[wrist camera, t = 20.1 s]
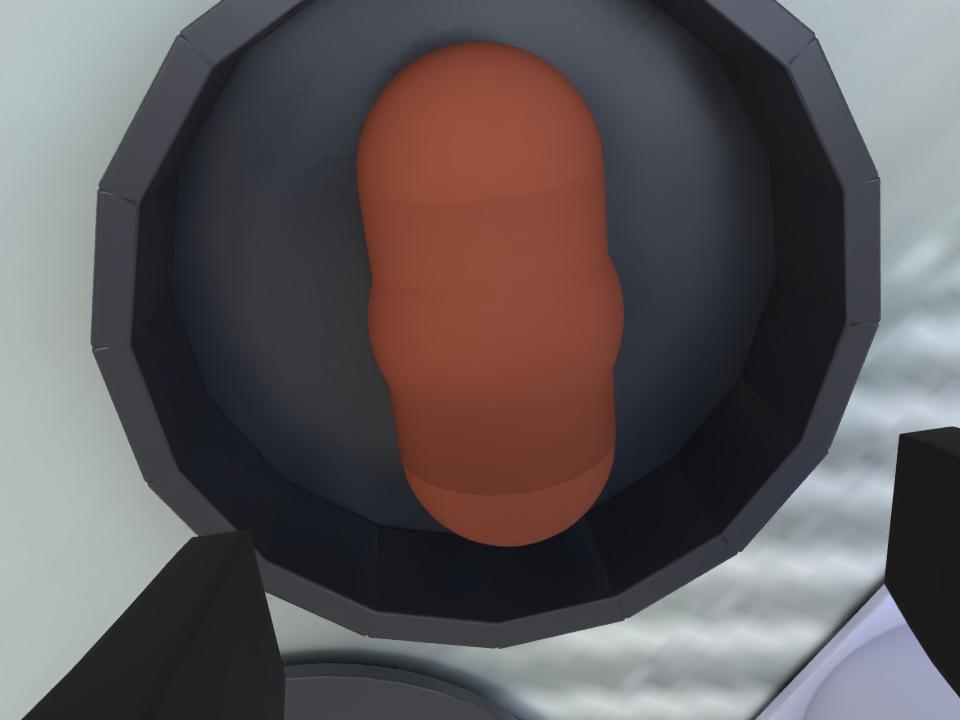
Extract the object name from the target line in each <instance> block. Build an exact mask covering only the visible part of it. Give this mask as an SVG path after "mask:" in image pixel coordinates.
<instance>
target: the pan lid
mask: <svg viewBox="0 0 960 720" xmlns="http://www.w3.org/2000/svg"><path fill="white" fill-rule="evenodd" d="M283 668H284V673H285V677H286V683H285V710H284V720H518V719H516V718H515V717H513V716H512V715H511V714H509V713H508V712H506V711H505V710H504V709H502V708H501V707H499V706H498V705H496V704H494V703H492V702H490V701H488V700H486V699H484V698H482V697H480V696H478V695H477V694H475V693H473V692H471V691H469V690H466V689H463V688H461V687H458V686H455V685H453V684H450V683H447V682H445V681H442V680H439V679H437V678H432V677H428V676H424V675H420V674H416V673H412V672H408V671H404V670H400V669H393V668H385V667H378V666H371V665H364V664H336V663H317V664H303V665H288V666H283Z"/></svg>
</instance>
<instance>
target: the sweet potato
mask: <svg viewBox="0 0 960 720" xmlns="http://www.w3.org/2000/svg"><path fill="white" fill-rule="evenodd" d="M356 168H357V185H358V193H359V199H360V205H361V212H362V218H363V224H364V231H365V237H366V243H367V250H368V256H369V263H370V269H371V275H372V286H371V291H370V296H369V302H368V325H369V335H370V340H371V344H372V349H373V353H374V356H375V358H376V361H377V364H378V366H379V369H380V370H381V372H382V374H383V376H384V378H385V379H386V381H387V383H388V385H389V390H390V396H391V402H392V409H393V415H394V421H395V428H396V434H397V440H398V447H399V453H400V458H401V460H402V464H403V467H404V471H405V475H406V478H407V481H408V483H409V485H410V486H411V488H412V490H413V492H414V494H415V496H416V497H417V499H418V500H419V501H420V503H421V504H422V505H423V507H424V508H425V509H426V510H427V511H428V512H429V513H430V514H431V515H432V516H433V518H435V519H436V520H437V521H438V522H440V523H441V524H442V525H443V526H445V527H447V528H448V529H450V530H451V531H453V532H454V533H456V534H458V535H460V536H462V537H464V538H466V539H469V540H472V541H476V542H479V543H484V544H488V545H495V546H508V547H512V546H523V545H528V544H533V543H536V542H539V541H542V540H545V539H548V538H550V537H552V536H554V535H556V534H558V533H560V532H562V531H564V530H566V529H567V528H569V527H570V526H571V525H573V524H574V523H575V522H576V521H578V520H579V519H580V518H581V517H582V516H583V515H584V514H585V513H586V512H587V511H588V510H589V509H590V507H591V506H592V505H593V504H594V503H595V501H596V499H597V498H598V496H599V495H600V493H601V491H602V490H603V488H604V486H605V484H606V482H607V479H608V477H609V474H610V471H611V467H612V464H613V461H614V451H615V438H616V423H615V400H614V378H613V366H614V363H615V361H616V358H617V355H618V351H619V348H620V344H621V338H622V332H623V326H624V306H623V297H622V291H621V286H620V282H619V278H618V274H617V272H616V269H615V267H614V265H613V262H612V260H611V258H610V256H609V255H608V242H607V219H606V197H605V174H604V158H603V151H602V145H601V138H600V134H599V132H598V129H597V126H596V123H595V120H594V118H593V115H592V112H591V111H590V109H589V107H588V106H587V104H586V102H585V101H584V99H583V98H582V96H581V94H580V93H579V91H578V90H577V89H576V88H575V87H574V86H573V85H572V84H571V82H570V81H569V80H568V79H567V78H566V77H565V76H564V75H563V74H562V73H561V72H560V71H559V70H558V69H556V68H555V67H554V66H552V65H551V64H549V63H548V62H547V61H545V60H544V59H542V58H541V57H539V56H537V55H535V54H532V53H530V52H528V51H526V50H523V49H521V48H519V47H516V46H511V45H506V44H501V43H496V42H491V41H484V42H464V43H459V44H454V45H449V46H444V47H441V48H439V49H437V50H435V51H432V52H430V53H428V54H426V55H423V56H421V57H419V58H418V59H416V60H415V61H413V62H412V63H411V64H409V65H408V66H407V67H405V68H404V69H402V70H401V71H400V72H399V73H398V74H397V75H396V76H395V77H394V78H393V79H392V80H391V81H390V82H389V84H388V85H387V86H386V87H385V88H384V89H383V90H382V91H381V93H380V95H379V96H378V98H377V100H376V101H375V103H374V105H373V106H372V108H371V110H370V111H369V113H368V115H367V118H366V121H365V124H364V127H363V130H362V132H361V135H360V139H359V146H358V153H357V160H356Z"/></svg>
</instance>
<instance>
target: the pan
mask: <svg viewBox="0 0 960 720" xmlns="http://www.w3.org/2000/svg"><path fill="white" fill-rule="evenodd" d="M484 41H491V42H496V43H501V44H506V45H511V46H516V47H519V48H521V49H523V50H526V51H528V52H530V53H532V54H535V55H537V56H539V57H541V58H542V59H544V60H545V61H547V62H548V63H549V64H551V65H552V66H554V67H555V68H556V69H558V70H559V71H560V72H561V73H562V74H563V75H564V76H565V77H566V78H567V79H568V80H569V81H570V82H571V84H572V85H573V86H574V87H575V88H576V89H577V90H578V91H579V93H580V94H581V96H582V98H583V99H584V101H585V102H586V104H587V106H588V107H589V109H590V111H591V112H592V115H593V118H594V120H595V123H596V126H597V129H598V132H599V134H600V138H601V145H602V151H603V158H604V174H605V197H606V219H607V242H608V255H609V256H610V258H611V260H612V262H613V265H614V267H615V269H616V272H617V274H618V278H619V282H620V286H621V291H622V297H623V306H624V326H623V332H622V338H621V344H620V348H619V351H618V355H617V358H616V361H615V363H614V366H613V378H614V400H615V423H616V438H615V451H614V461H613V464H612V467H611V471H610V474H609V477H608V479H607V482H606V484H605V486H604V488H603V490H602V491H601V493H600V495H599V496H598V498H597V499H596V501H595V503H594V504H593V505H592V506H591V507H590V509H589V510H588V511H587V512H586V513H585V514H584V515H583V516H582V517H581V518H580V519H579V520H578V521H576V522H575V523H574V524H573V525H571V526H570V527H569V528H567V529H566V530H564V531H562V532H560V533H558V534H556V535H554V536H552V537H550V538H548V539H545V540H542V541H539V542H536V543H533V544H528V545H523V546H512V547H508V546H495V545H488V544H484V543H479V542H476V541H472V540H469V539H466V538H464V537H462V536H460V535H458V534H456V533H454V532H453V531H451V530H450V529H448V528H447V527H445V526H443V525H442V524H441V523H440V522H438V521H437V520H436V519H435V518H433V516H432V515H431V514H430V513H429V512H428V511H427V510H426V509H425V508H424V507H423V505H422V504H421V503H420V501H419V500H418V499H417V497H416V496H415V494H414V492H413V490H412V488H411V486H410V485H409V483H408V481H407V478H406V475H405V471H404V467H403V464H402V460H401V458H400V453H399V447H398V440H397V434H396V428H395V421H394V415H393V409H392V402H391V396H390V390H389V385H388V383H387V381H386V379H385V378H384V376H383V374H382V372H381V370H380V369H379V366H378V364H377V361H376V358H375V356H374V353H373V349H372V344H371V340H370V335H369V325H368V302H369V296H370V291H371V286H372V275H371V269H370V263H369V256H368V250H367V243H366V237H365V231H364V224H363V218H362V212H361V205H360V199H359V193H358V185H357V168H356V160H357V153H358V146H359V139H360V135H361V132H362V130H363V127H364V124H365V121H366V118H367V115H368V113H369V111H370V110H371V108H372V106H373V105H374V103H375V101H376V100H377V98H378V96H379V95H380V93H381V91H382V90H383V89H384V88H385V87H386V86H387V85H388V84H389V82H390V81H391V80H392V79H393V78H394V77H395V76H396V75H397V74H398V73H399V72H400V71H401V70H402V69H404V68H405V67H407V66H408V65H409V64H411V63H412V62H413V61H415V60H416V59H418V58H419V57H421V56H423V55H426V54H428V53H430V52H432V51H435V50H437V49H439V48H441V47H444V46H449V45H454V44H459V43H464V42H484ZM877 176H878V172H877V170H876V167H875V165H874V163H873V161H872V158H871V156H870V154H869V152H868V150H867V147H866V145H865V143H864V141H863V138H862V136H861V134H860V132H859V130H858V127H857V125H856V123H855V121H854V118H853V116H852V114H851V112H850V110H849V107H848V105H847V103H846V101H845V99H844V96H843V94H842V92H841V90H840V87H839V85H838V83H837V81H836V79H835V76H834V74H833V72H832V70H831V67H830V65H829V63H828V61H827V59H826V56H825V54H824V52H823V50H822V47H821V45H820V43H819V41H818V39H817V38H816V37H815V33H814V32H813V31H812V30H810V29H809V28H808V27H807V26H806V25H804V24H803V23H802V22H801V21H800V20H799V19H797V18H796V17H795V16H794V15H793V14H791V13H790V12H789V11H788V10H787V9H785V8H784V7H783V6H782V5H781V4H780V3H778V2H777V1H776V0H221V1H220V2H219V3H217V4H216V5H215V6H213V7H212V8H211V9H209V10H208V11H207V12H205V13H204V14H203V15H201V16H200V17H199V18H197V19H196V20H195V21H193V22H192V23H191V24H189V25H188V26H187V27H185V28H184V29H183V30H181V32H180V34H179V35H178V36H177V37H176V38H175V40H174V42H173V44H172V46H171V48H170V50H169V52H168V54H167V56H166V57H165V59H164V61H163V63H162V65H161V67H160V69H159V71H158V73H157V74H156V76H155V78H154V80H153V82H152V84H151V86H150V88H149V90H148V91H147V93H146V95H145V97H144V99H143V101H142V103H141V105H140V107H139V109H138V110H137V112H136V114H135V116H134V118H133V120H132V122H131V124H130V126H129V127H128V129H127V131H126V133H125V135H124V137H123V139H122V141H121V143H120V144H119V146H118V148H117V150H116V152H115V154H114V156H113V158H112V160H111V162H110V163H109V165H108V167H107V169H106V171H105V173H104V175H103V177H102V179H101V180H100V182H99V189H98V191H97V207H96V230H95V252H94V275H93V297H92V319H91V345H92V346H93V347H92V352H93V354H94V357H95V359H96V362H97V364H98V366H99V369H100V371H101V374H102V376H103V379H104V381H105V384H106V386H107V389H108V391H109V394H110V396H111V399H112V401H113V404H114V406H115V409H116V411H117V413H118V416H119V418H120V421H121V423H122V426H123V428H124V431H125V433H126V436H127V438H128V441H129V443H130V446H131V448H132V451H133V453H134V456H135V458H136V460H137V463H138V465H139V468H140V470H141V473H142V475H143V478H144V480H145V481H146V482H148V486H149V487H150V488H151V489H152V490H153V491H154V492H155V493H156V494H157V495H158V496H159V497H160V498H161V499H162V500H163V501H164V502H165V503H166V504H167V505H168V506H169V507H170V508H171V509H172V510H173V511H174V512H175V513H176V514H177V515H178V516H179V517H180V518H181V519H182V520H183V521H184V522H185V523H186V524H187V525H188V526H189V527H190V528H191V529H192V530H193V531H194V532H195V533H196V534H197V535H198V536H205V535H212V534H219V533H226V532H232V531H239V530H246V529H249V530H250V534H251V538H252V542H253V546H254V551H255V555H256V559H257V563H258V567H259V571H260V575H261V579H262V583H263V587H264V591H265V592H267V593H269V594H271V595H274V596H276V597H278V598H280V599H283V600H285V601H287V602H289V603H291V604H294V605H296V606H298V607H300V608H303V609H305V610H307V611H309V612H312V613H314V614H316V615H318V616H320V617H323V618H325V619H327V620H329V621H332V622H334V623H336V624H338V625H340V626H343V627H345V628H347V629H349V630H352V631H354V632H356V633H358V634H360V635H363V636H366V635H368V637H371V638H382V639H393V640H404V641H415V642H426V643H437V644H449V645H460V646H471V647H482V648H493V649H494V648H497V647H498V648H499V649H501V648H506V647H510V646H515V645H519V644H523V643H528V642H532V641H536V640H541V639H545V638H550V637H554V636H558V635H563V634H567V633H572V632H576V631H580V630H585V629H589V628H594V627H598V626H602V625H607V624H611V623H615V622H620V621H623V620H625V618H630V617H631V616H633V615H635V614H636V613H638V612H640V611H641V610H643V609H645V608H647V607H648V606H650V605H652V604H653V603H655V602H657V601H658V600H660V599H662V598H664V597H665V596H667V595H669V594H670V593H672V592H674V591H675V590H677V589H679V588H681V587H682V586H684V585H686V584H687V583H689V582H691V581H692V580H694V579H696V578H697V577H699V576H701V575H703V574H704V573H706V572H708V571H709V570H711V569H713V568H714V567H716V566H718V565H720V564H721V563H723V562H725V561H726V560H728V559H730V558H731V557H733V556H735V555H737V553H738V552H742V551H743V549H744V548H745V547H746V546H747V545H748V544H749V543H750V541H751V540H752V539H753V538H754V537H755V536H756V535H757V533H758V532H759V531H760V530H761V529H762V528H763V527H764V526H765V524H766V523H767V522H768V521H769V520H770V519H771V518H772V516H773V515H774V514H775V513H776V512H777V511H778V510H779V508H780V507H781V506H782V505H783V504H784V503H785V502H786V500H787V499H788V498H789V497H790V496H791V495H792V494H793V492H794V491H795V490H796V489H797V488H798V487H799V486H800V485H801V483H802V482H803V481H804V480H805V479H806V478H807V477H808V475H809V474H810V473H811V472H812V471H813V470H814V469H815V467H816V466H817V465H818V464H819V463H820V462H821V461H822V459H823V458H824V457H825V456H826V455H827V454H828V449H829V448H830V447H831V444H832V442H833V439H834V437H835V434H836V432H837V429H838V427H839V424H840V422H841V419H842V417H843V414H844V411H845V409H846V406H847V404H848V401H849V399H850V396H851V394H852V391H853V389H854V386H855V384H856V381H857V379H858V376H859V374H860V371H861V369H862V366H863V364H864V361H865V358H866V356H867V353H868V351H869V348H870V346H871V343H872V341H873V338H874V336H875V333H876V331H877V328H878V322H879V321H880V320H881V278H880V178H879V177H877Z"/></svg>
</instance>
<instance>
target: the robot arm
mask: <svg viewBox="0 0 960 720" xmlns="http://www.w3.org/2000/svg"><path fill="white" fill-rule="evenodd" d="M285 683H286V677H285V673H284V668H283V664H282V660H281V656H280V652H279V648H278V644H277V640H276V636H275V632H274V628H273V624H272V620H271V616H270V612H269V607H268V603H267V599H266V595H265V591H264V587H263V583H262V579H261V575H260V571H259V567H258V563H257V559H256V555H255V551H254V546H253V542H252V538H251V534H250V530H249V529H246V530H239V531H232V532H226V533H219V534H212V535H205V536H198V537H192V538H191V539H190V540H189V541H188V542H187V543H186V544H185V545H184V546H183V547H182V548H181V549H180V550H179V551H178V552H177V553H176V554H175V556H174V557H173V558H172V559H171V560H170V561H169V562H168V563H167V564H166V566H165V567H164V568H163V569H162V570H161V571H160V572H159V574H158V575H157V576H156V577H155V578H154V579H153V580H152V581H151V583H150V584H149V585H148V586H147V587H146V588H145V589H144V590H143V592H142V593H141V594H140V595H139V596H138V597H137V598H136V600H135V601H134V602H133V603H132V604H131V605H130V606H129V607H128V609H127V610H126V611H125V612H124V613H123V614H122V615H121V616H120V617H119V618H118V619H117V621H116V622H115V623H114V624H113V625H112V626H111V627H110V628H109V629H108V630H107V631H106V633H105V634H104V635H103V636H102V637H101V638H100V639H99V640H98V641H97V642H96V644H95V645H94V646H93V647H92V648H91V649H90V650H89V651H88V652H87V653H86V654H85V656H84V657H83V658H82V659H81V660H80V661H79V662H78V663H77V664H76V665H75V666H74V667H73V668H72V670H71V671H70V672H69V673H68V674H67V675H66V676H65V677H64V678H63V679H62V680H61V681H60V682H59V683H58V684H57V685H56V686H55V687H54V688H53V689H52V690H51V691H50V692H49V693H48V694H47V695H46V696H45V697H44V698H43V699H42V700H41V701H40V702H39V703H38V704H37V705H36V706H35V707H34V708H33V709H32V710H31V711H30V712H29V713H28V714H27V715H26V716H25V717H24V718H23V719H22V720H284V710H285ZM755 720H960V428H957V427H945V428H938V429H931V430H924V431H917V432H910V433H904V434H900V435H899V444H898V454H897V464H896V473H895V483H894V493H893V503H892V512H891V522H890V532H889V541H888V551H887V561H886V571H885V580H884V585H883V586H882V587H881V588H880V589H879V590H878V591H877V592H876V593H875V594H874V595H873V596H872V597H871V598H870V599H869V601H868V602H867V603H866V604H865V605H864V606H863V607H862V608H861V609H860V610H859V611H858V612H857V613H856V614H855V615H854V616H853V617H852V618H851V619H850V621H849V622H848V623H847V624H846V625H845V626H844V627H843V628H842V629H841V630H840V631H839V632H838V633H837V634H836V635H835V636H834V637H833V638H832V639H831V640H830V642H829V643H828V644H827V645H826V646H825V647H824V648H823V649H822V650H821V651H820V652H819V653H818V654H817V655H816V656H815V657H814V658H813V659H812V660H811V662H810V663H809V664H808V665H807V666H806V667H805V668H804V669H803V670H802V671H801V672H800V673H799V674H798V675H797V676H796V677H795V678H794V679H793V680H792V682H791V683H790V684H789V685H788V686H787V687H786V688H785V689H784V690H783V691H782V692H781V693H780V694H779V695H778V696H777V697H776V698H775V699H774V700H773V701H772V703H771V704H770V705H769V706H768V707H767V708H766V709H765V710H764V711H763V712H762V713H761V714H760V715H759V716H758V717H757V718H756V719H755Z"/></svg>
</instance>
